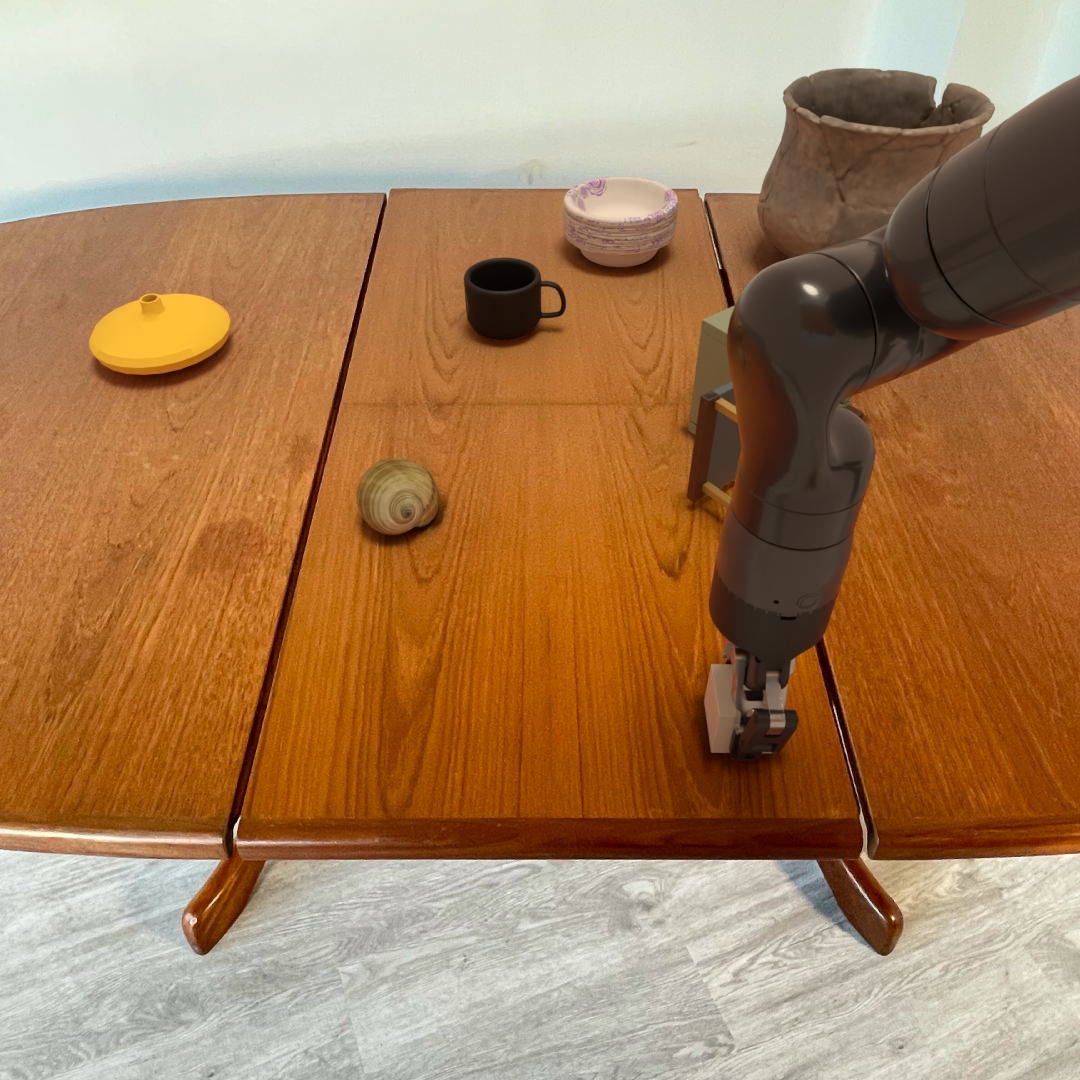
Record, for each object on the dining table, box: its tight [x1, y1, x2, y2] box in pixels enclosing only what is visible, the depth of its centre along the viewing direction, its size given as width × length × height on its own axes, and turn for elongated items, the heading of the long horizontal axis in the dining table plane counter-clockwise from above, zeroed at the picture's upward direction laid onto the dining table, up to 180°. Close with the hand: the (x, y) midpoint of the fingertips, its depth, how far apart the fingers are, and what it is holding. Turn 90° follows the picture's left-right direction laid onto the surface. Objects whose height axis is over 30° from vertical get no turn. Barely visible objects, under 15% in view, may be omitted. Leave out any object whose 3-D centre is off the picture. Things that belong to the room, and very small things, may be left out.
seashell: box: [356, 457, 440, 536], centre depth 82 cm, size 10×7×8 cm
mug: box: [463, 257, 567, 341], centre depth 104 cm, size 12×9×7 cm
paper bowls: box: [562, 176, 679, 268], centre depth 118 cm, size 15×15×8 cm
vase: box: [88, 293, 232, 376], centre depth 102 cm, size 16×16×7 cm
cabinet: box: [687, 305, 865, 436], centre depth 88 cm, size 10×16×13 cm, turn 127°
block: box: [703, 663, 773, 754], centre depth 64 cm, size 5×5×5 cm
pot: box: [756, 67, 996, 259], centre depth 110 cm, size 25×24×21 cm
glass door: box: [686, 382, 741, 511], centre depth 79 cm, size 9×15×12 cm, turn 127°
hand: (738, 724), depth 65 cm, fingers closed on block, 4 cm apart
